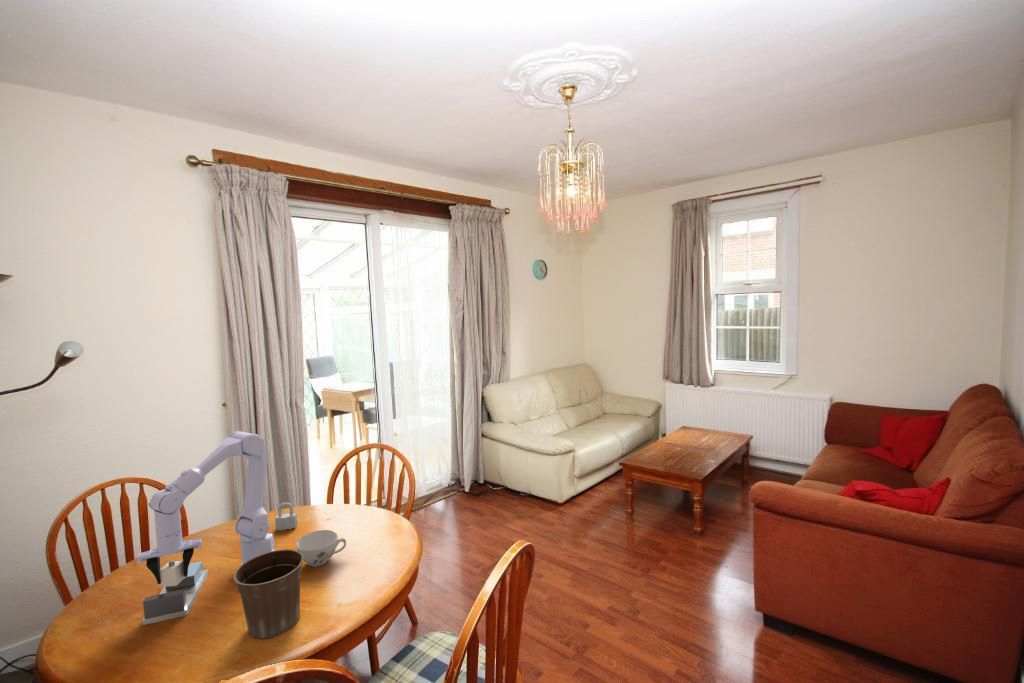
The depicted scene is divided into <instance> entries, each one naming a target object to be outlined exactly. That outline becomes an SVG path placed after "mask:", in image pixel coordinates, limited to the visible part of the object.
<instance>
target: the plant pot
mask: <svg viewBox="0 0 1024 683" xmlns="http://www.w3.org/2000/svg"><path fill="white" fill-rule="evenodd" d="M303 563H304V561H303V555H302V553H300V552H299V551H298V550H297V549H291V548H290V549H285V548H284V549H275V551H271V552H267V553H264V554H261V555H258V556H256V557H254V558H252V559H250V560H248V561H246V562H245V563H243V564H242V563H241V564H242V565H241V564H240V566H238V567H237V568H236V570H235V571H234V573H233V581H234V583H235V584H236V585H237V591H238V594H239V595H240V597H241V602H242V607H243V611H244V617H245V622H246V626H247V632H248V634H250V636H251V637H252V638H254V639H259V640H265V639H272V638H274V636H275V637H278V636H279V634H280V635H282V633H284V632H285V631H286V630H290V629H291V628H293V627H294V626H295V625H296V624H297V622H298V621H299V619H300V612H301V611H300V610H301V609H300V605H301V603H300V602H301V599H300V597H301V576H302V569H303V568H302V565H303Z"/></svg>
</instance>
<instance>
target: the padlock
mask: <svg viewBox="0 0 1024 683" xmlns="http://www.w3.org/2000/svg"><path fill="white" fill-rule="evenodd" d="M285 506H286V507H288V508H289V512H288V513H287V512H286V513H282V508H283V507H285ZM274 524H275V525H274V526H275V531H287V530H286V529H289V530H292V529H291V528H295V529H296V528H297V526H298V525H297V524H298V513H297V512H294V505H292V503H290V502H282V503H280V504H279V505H278V507H277V515H276V516H275V517H274Z"/></svg>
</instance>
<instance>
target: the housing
mask: <svg viewBox="0 0 1024 683" xmlns="http://www.w3.org/2000/svg"><path fill="white" fill-rule="evenodd" d="M184 578H185V577H184V563H183V560H178V561H177V560H170V561H168V562H167V563H166V564H165V565H163V566H162V567H160V579H161V584H160V587H161V588H164V587H167V586H177V585H178V584H179V583H180V582H181V581H182V580H183V579H184Z"/></svg>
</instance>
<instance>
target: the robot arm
mask: <svg viewBox="0 0 1024 683" xmlns="http://www.w3.org/2000/svg"><path fill="white" fill-rule="evenodd" d="M268 455H269V454H268V450H267V447H266V444H265V438H263V437H262V436H261V435H259V434H257V433H252V432H251V433H250V432H246V431H241V430H236V431H233V432H232V433H230V434H229V435H228V436H226V437H225V438H224V439H223V440H222V442H221V444H220V445H219V446H218V447H217V448H216V449H215V450H213V451H212V453H210V454H209V455H208V456H206V458H205V459H204V460H203V461H202V462H201V463H199V465H197V466H196V467H195V468H188V469H186V470H185V469H184V470H183V471H182V472H180V476H178V477H177V478H176V479H174V480H173V481H172V482H171V483H170V484H166V486H165V489H160V490H158V491H156V492H155V493H154V494H153V495H152V496H151V498H150V502H148V503H147V504H148V507H149V508H150V509H151V510H153V514H154V515H153V516H154V528H155V537H156V546H157V547H156V548H153V549H150V550H146V551H144V552H140V553H138V554H137V557H136V561H137V564H141V563H143V562H146V564H145V566H146V567H147V569H148V570H149V571H150V572H151V573H152V575H154V578H155V579H156V583H157V585H161V579H160V569H161V558H162V557H166V556H170V555H175V554H177V553H182V561H183V563H184V577H187V575H188V566H189V564H191V560H192V558H193V555H194V551H195V549H201V548H203V540H202V538H199V539H197V538H196V539H191V540H184V541H183V532H182V531H183V530H182V522H181V521H182V520H181V511H180V509H181V508H182V507H183V504H184V501H185V500H186V499H187V497H188V496H189V495H191V494H192V493H193V492H194V491H195V490H196V489H197V488H199V487H200V486H201V485H202V484H203V483H204V482H205V477H206V475H208V474H209V473H210V472H211V471H213V470H214V469H215V468H217V467H218V466H219V465H221V464H222V463H223V462H224V461H226V460H227V459H228V458H230V457H237V456H243V457H244V458H246V459H247V461H248V462H247V463H248V464H247V473H246V474H247V475H246V485H245V494H244V495H245V497H244V505H243V506H244V507H243V509H241V510H240V512H239V513H238V517H237V520H236V522H235V524H234V529H235V532H236V533H237V534H238V535H239V538H240V549H241V550H240V551H241V564H240V566H241V565H242V564H243V563H245V562H246V561H248V560H250V559H252V558H254V557H256V556H258V555H261V554H264V553H267V552H271V551H275V550H276V549H275V539H274V537H275V536H274V533H269V532H270V526H271V525H270V522H269V518H268V517H269V513H267V511H266V509H265V507H264V501H265V490H266V481H267V480H266V479H267V469H268V468H267V467H268Z"/></svg>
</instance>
